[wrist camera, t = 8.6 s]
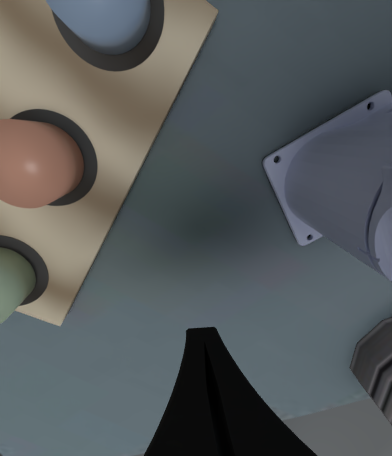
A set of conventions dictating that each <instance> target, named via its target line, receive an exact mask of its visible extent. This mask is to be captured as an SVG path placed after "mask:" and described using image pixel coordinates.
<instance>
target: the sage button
mask: <svg viewBox="0 0 392 456" xmlns="http://www.w3.org/2000/svg"><path fill="white" fill-rule="evenodd" d="M35 283H36V276H35V272H34V270H33V268H32V266H31V264H30V263H29V262H28V261H27V260H26V259H25V258H24V257H23V256H21V255H20V254H18V253H17V252H14V251H12V250H10V249H7V248H2V247H0V324H1V323H2V322H4V321H5V320H6V319H7V318H8V317H9V316H10V315H11V314H12V313H13V312H14V311H15V309H16V308H17V307H18V306H19V305H20V304H21V303H22V302H23V301H24V300H25V298H26V297H27V296H28V295H29V294H30V293H31V292H32V290H33V289H34V287H35Z"/></svg>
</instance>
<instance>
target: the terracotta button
mask: <svg viewBox="0 0 392 456" xmlns="http://www.w3.org/2000/svg"><path fill="white" fill-rule="evenodd" d="M83 172H84V161H83V156H82V153H81V151H80V149H79V147H78V145H77V143H76V142H75V141H74V139H73V138H72V137H71V136H70V135H69V134H68V133H66V132H65V131H64V130H62V129H61V128H59V127H57V126H55V125H52V124H49V123H45V122H36V121H26V120H16V119H1V120H0V200H2V201H3V202H5V203H7V204H10V205H13V206H16V207H20V208H38V207H42V206H45V205H47V204H49V203H51V202H53V201H55V200H57V199H59V198H60V197H62V196H64V195H66V194H68V193H70V192H71V191H73V190H74V189H75V188H76V187H77V186H78V184H79V183H80V181H81V179H82V176H83Z"/></svg>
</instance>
